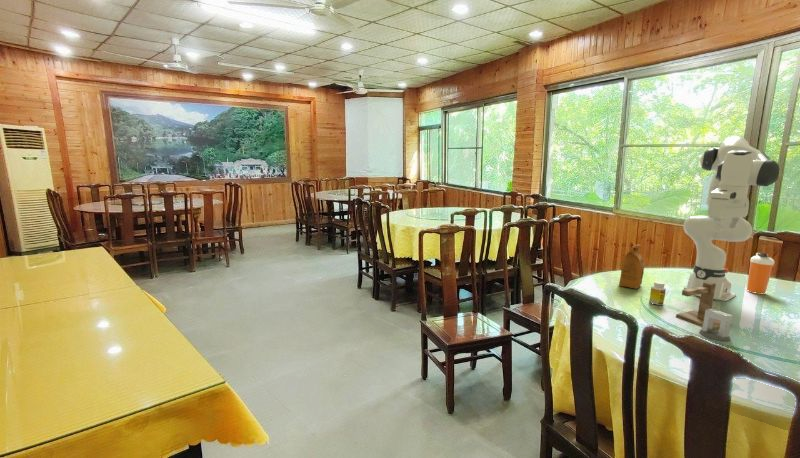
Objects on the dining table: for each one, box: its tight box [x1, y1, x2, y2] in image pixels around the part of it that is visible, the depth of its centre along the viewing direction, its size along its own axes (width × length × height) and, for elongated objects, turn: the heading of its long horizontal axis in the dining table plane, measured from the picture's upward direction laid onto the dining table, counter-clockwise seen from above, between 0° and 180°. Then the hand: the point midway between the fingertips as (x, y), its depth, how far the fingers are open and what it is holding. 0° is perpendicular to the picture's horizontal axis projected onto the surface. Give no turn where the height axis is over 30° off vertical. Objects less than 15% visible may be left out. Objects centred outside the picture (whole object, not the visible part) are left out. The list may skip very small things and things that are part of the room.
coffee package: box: [618, 243, 645, 289], centre depth 201 cm, size 10×12×22 cm
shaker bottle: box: [746, 252, 775, 294], centre depth 197 cm, size 9×9×20 cm
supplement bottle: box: [648, 280, 667, 306], centre depth 177 cm, size 6×6×10 cm
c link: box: [701, 307, 733, 339], centre depth 145 cm, size 4×7×9 cm, turn 24°
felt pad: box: [698, 328, 731, 342], centre depth 146 cm, size 9×9×1 cm
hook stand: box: [675, 282, 721, 331], centre depth 156 cm, size 22×14×16 cm, turn 114°
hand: (725, 229), depth 151 cm, fingers open, 8 cm apart
